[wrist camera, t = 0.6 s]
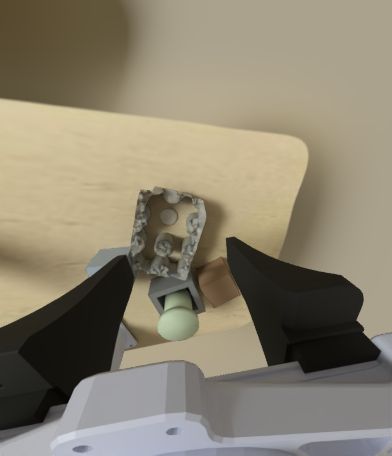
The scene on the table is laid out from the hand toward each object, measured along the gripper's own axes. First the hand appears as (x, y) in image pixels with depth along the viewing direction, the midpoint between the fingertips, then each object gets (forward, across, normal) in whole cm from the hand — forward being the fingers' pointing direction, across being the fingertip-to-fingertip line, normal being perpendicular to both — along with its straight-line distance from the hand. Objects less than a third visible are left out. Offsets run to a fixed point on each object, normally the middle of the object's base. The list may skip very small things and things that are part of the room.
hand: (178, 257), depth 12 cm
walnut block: (+10, -4, +10) cm, 14 cm away
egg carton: (+10, +2, +2) cm, 10 cm away
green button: (+7, +2, +12) cm, 14 cm away
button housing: (+9, +2, +12) cm, 15 cm away
